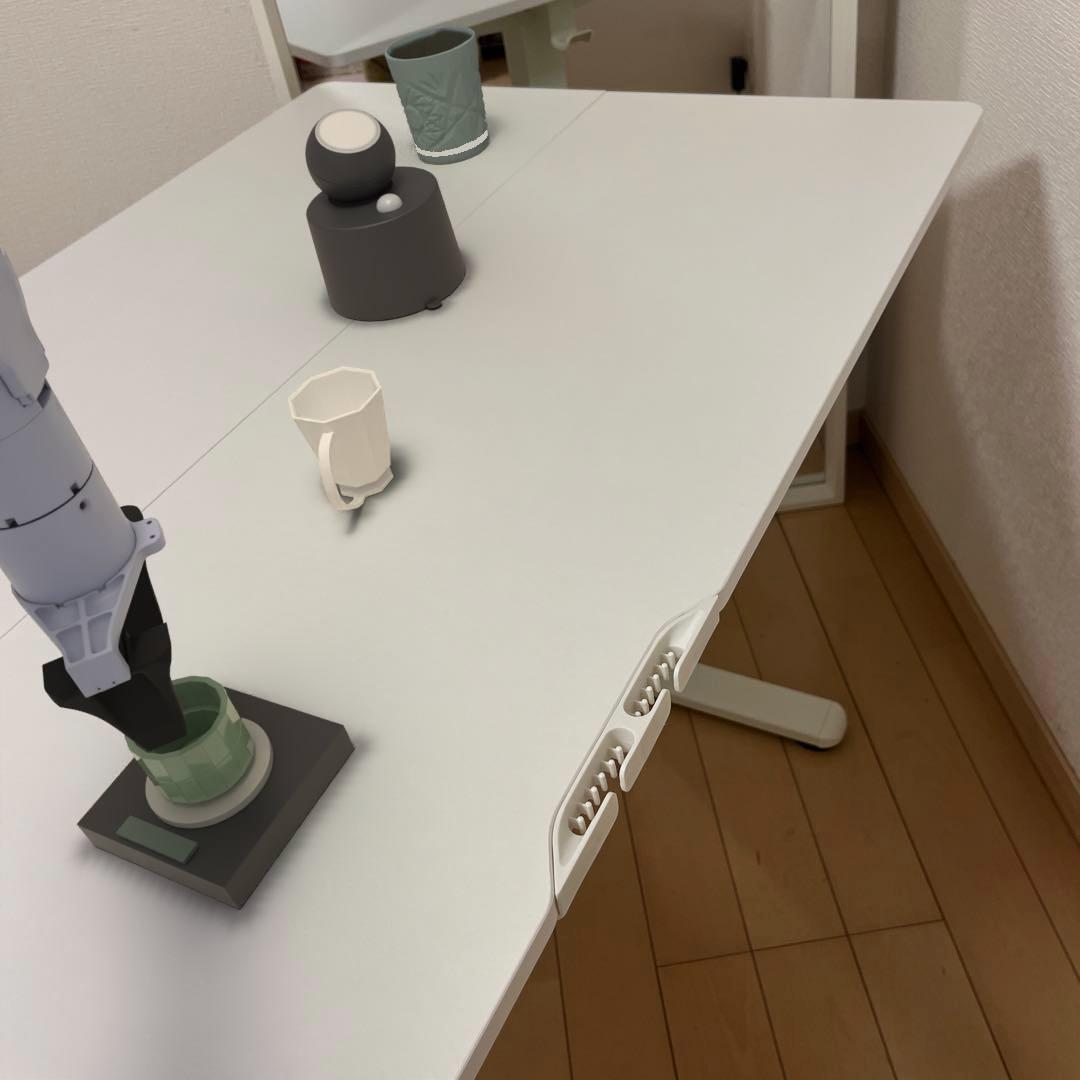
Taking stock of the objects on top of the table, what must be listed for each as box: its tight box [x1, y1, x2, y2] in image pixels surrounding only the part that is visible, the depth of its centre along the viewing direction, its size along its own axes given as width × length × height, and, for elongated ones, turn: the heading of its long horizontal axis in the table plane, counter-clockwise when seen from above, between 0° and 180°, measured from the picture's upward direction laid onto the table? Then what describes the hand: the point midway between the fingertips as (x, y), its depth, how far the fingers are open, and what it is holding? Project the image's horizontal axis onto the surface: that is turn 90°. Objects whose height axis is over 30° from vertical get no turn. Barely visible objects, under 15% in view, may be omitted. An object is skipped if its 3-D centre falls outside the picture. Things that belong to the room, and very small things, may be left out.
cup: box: [286, 365, 394, 511], centre depth 80 cm, size 7×10×8 cm
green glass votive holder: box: [123, 675, 254, 804], centre depth 60 cm, size 6×6×4 cm
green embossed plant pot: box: [384, 25, 490, 165], centre depth 125 cm, size 10×10×12 cm
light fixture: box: [304, 108, 466, 322], centre depth 101 cm, size 13×16×14 cm
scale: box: [76, 685, 355, 910], centre depth 63 cm, size 11×11×3 cm
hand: (156, 687), depth 57 cm, fingers open, 7 cm apart
